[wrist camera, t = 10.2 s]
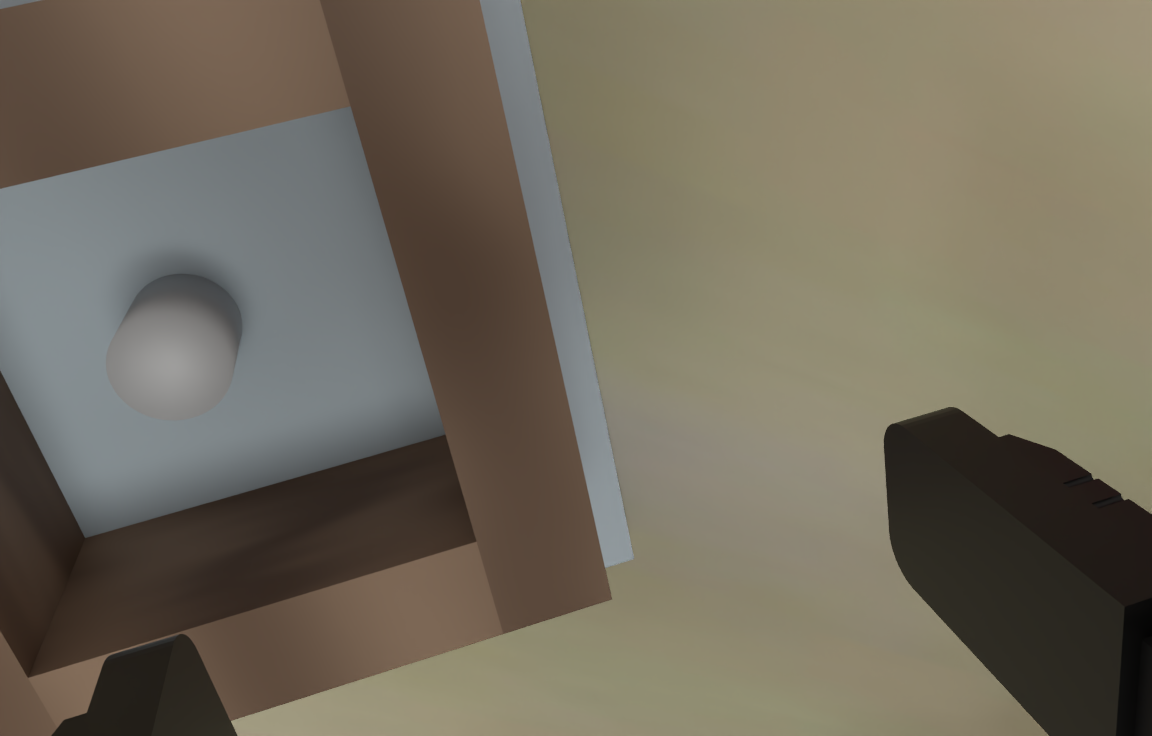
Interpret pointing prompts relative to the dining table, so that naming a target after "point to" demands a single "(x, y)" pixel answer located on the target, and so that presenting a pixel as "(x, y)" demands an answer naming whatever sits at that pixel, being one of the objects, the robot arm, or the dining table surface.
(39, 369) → the peg board
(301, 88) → the frame
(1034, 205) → the dining table surface
